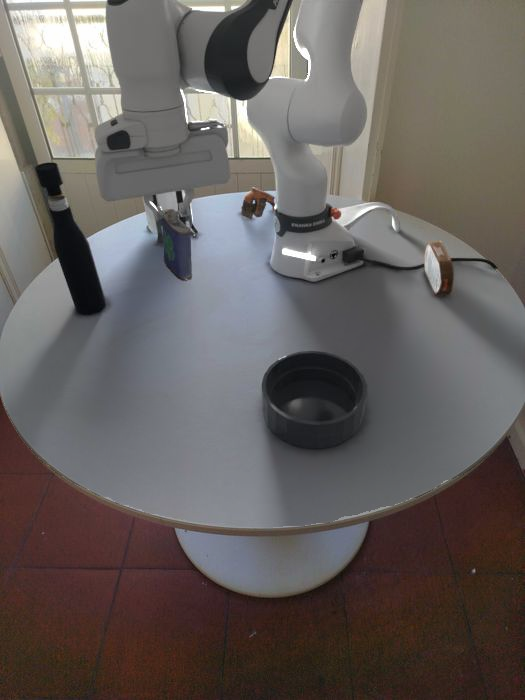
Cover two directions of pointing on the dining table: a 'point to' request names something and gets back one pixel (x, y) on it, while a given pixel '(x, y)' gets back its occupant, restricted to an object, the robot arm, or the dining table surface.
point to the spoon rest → (359, 211)
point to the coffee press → (167, 202)
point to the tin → (438, 268)
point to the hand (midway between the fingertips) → (171, 217)
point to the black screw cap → (313, 399)
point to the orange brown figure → (256, 203)
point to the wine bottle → (71, 246)
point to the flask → (176, 245)
